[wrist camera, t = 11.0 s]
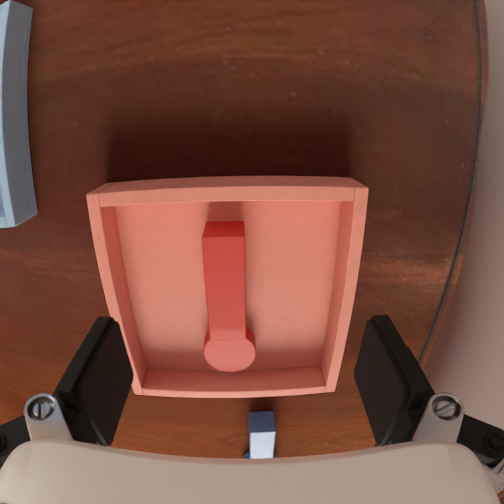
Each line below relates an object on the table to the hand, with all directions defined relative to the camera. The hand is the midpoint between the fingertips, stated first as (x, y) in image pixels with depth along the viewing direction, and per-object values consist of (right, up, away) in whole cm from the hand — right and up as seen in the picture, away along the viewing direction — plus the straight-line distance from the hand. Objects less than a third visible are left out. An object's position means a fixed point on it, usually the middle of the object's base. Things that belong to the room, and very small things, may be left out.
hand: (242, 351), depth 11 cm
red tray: (-1, +1, +8) cm, 8 cm away
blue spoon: (+1, -13, +14) cm, 19 cm away
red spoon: (-1, +1, +7) cm, 7 cm away
